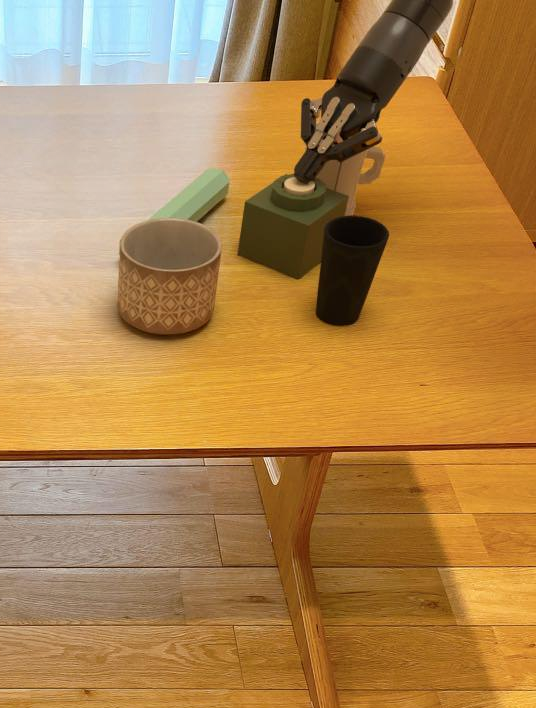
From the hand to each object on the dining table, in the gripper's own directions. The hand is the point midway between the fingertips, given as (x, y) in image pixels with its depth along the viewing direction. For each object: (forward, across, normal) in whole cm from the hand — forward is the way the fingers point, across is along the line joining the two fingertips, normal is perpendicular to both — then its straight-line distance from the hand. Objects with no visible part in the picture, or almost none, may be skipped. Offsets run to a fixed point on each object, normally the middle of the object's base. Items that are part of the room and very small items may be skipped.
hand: (300, 179), depth 136 cm
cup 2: (+12, +15, +4) cm, 19 cm away
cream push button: (+2, 0, +2) cm, 3 cm away
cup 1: (-2, -4, +17) cm, 18 cm away
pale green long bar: (+13, -14, +3) cm, 20 cm away
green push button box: (+8, 0, +8) cm, 11 cm away
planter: (+24, 0, -8) cm, 26 cm away
